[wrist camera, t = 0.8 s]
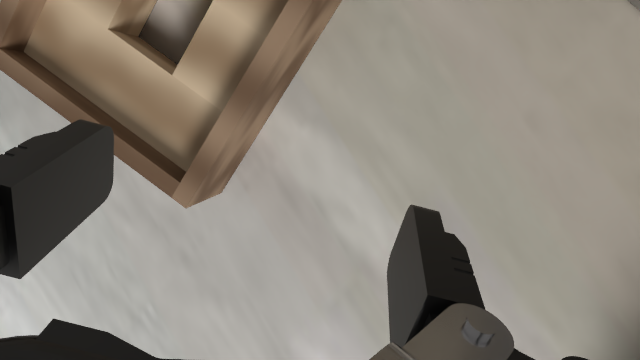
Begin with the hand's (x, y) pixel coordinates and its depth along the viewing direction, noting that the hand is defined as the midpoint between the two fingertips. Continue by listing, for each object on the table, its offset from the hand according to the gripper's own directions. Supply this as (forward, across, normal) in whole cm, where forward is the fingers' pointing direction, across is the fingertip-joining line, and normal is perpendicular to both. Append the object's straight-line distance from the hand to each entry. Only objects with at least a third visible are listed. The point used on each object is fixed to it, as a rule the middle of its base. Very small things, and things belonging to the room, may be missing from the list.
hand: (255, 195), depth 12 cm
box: (+23, +11, +1) cm, 26 cm away
